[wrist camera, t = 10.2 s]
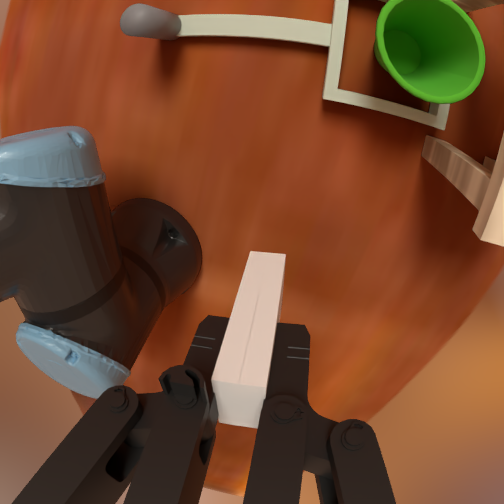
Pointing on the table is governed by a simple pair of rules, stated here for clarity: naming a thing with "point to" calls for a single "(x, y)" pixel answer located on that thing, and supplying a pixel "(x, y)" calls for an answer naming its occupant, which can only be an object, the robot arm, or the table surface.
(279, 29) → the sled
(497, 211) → the bridge
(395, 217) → the table surface
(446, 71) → the cup
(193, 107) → the table surface
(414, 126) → the table surface
